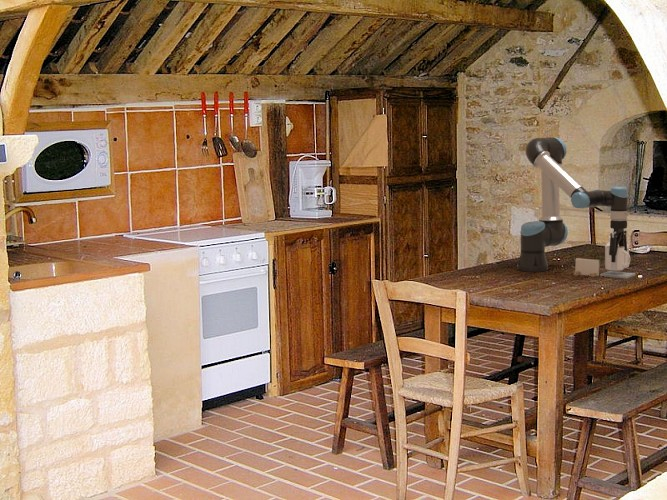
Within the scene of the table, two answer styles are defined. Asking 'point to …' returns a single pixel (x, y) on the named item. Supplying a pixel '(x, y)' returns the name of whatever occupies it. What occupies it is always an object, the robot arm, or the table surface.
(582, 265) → the beige block
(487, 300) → the table surface
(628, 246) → the jar
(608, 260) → the mug
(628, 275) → the plate
